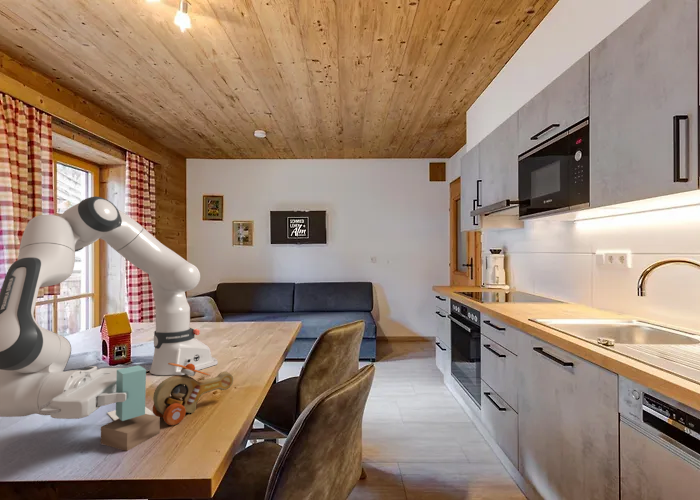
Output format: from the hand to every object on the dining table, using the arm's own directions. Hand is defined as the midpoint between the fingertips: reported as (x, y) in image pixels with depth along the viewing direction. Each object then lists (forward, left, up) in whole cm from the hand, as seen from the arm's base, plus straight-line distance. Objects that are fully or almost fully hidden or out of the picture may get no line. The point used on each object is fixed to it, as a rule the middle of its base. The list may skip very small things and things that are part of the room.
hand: (135, 389), depth 79 cm
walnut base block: (+1, -1, -11) cm, 11 cm away
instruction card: (-3, -14, -11) cm, 18 cm away
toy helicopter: (-15, -4, -11) cm, 19 cm away
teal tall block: (+1, -1, -5) cm, 6 cm away
